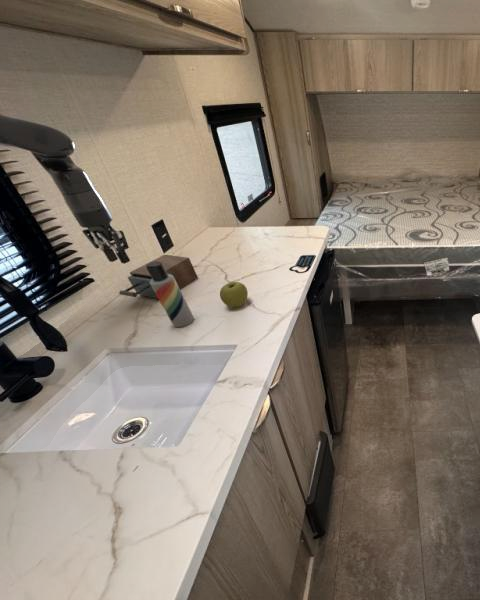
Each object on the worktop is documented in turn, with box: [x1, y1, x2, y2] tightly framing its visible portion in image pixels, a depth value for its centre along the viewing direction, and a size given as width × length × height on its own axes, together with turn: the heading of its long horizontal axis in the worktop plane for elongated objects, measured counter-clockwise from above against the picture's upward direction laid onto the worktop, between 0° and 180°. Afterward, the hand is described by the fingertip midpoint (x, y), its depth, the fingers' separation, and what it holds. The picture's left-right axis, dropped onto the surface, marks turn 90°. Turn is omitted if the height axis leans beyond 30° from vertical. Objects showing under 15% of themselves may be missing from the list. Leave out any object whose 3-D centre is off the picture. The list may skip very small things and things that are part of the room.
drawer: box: [118, 275, 158, 299], centre depth 111 cm, size 18×10×7 cm, turn 163°
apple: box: [219, 281, 249, 308], centre depth 103 cm, size 8×8×7 cm
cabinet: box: [129, 254, 199, 291], centre depth 115 cm, size 14×12×9 cm
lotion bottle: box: [146, 261, 195, 328], centre depth 93 cm, size 6×6×20 cm
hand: (120, 261), depth 100 cm, fingers open, 4 cm apart
